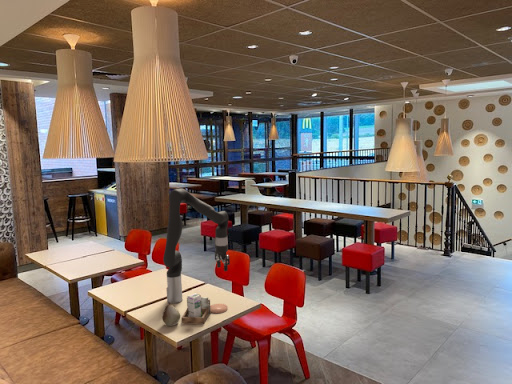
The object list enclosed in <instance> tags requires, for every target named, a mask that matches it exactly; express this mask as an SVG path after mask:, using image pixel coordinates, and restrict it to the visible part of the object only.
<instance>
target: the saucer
mask: <svg viewBox="0 0 512 384" xmlns="http://www.w3.org/2000/svg"><path fill="white" fill-rule="evenodd" d="M228 308H229V307H228V305H227V304H225V303H214V304H210V309H211V314H222V313H225V312H226V311H228Z"/></svg>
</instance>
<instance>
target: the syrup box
mask: <svg viewBox="0 0 512 384" xmlns="http://www.w3.org/2000/svg"><path fill="white" fill-rule="evenodd" d="M201 295H202V294H200V293H196V292H194V293H191V294H189V295H187V296H186V298H187V297H188V311H189V315H188V317H203V315H202V304H201V297H202V296H201Z"/></svg>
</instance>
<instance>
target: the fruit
mask: <svg viewBox="0 0 512 384" xmlns="http://www.w3.org/2000/svg"><path fill="white" fill-rule="evenodd" d="M161 317H162V318H161V319H162V322H163V323H164V325H165V326H168V327H171V326H172V327H173V326H175V325H177V324H178V323H179V322H180V319H181V313H180V311H179V310H177V309H176V308H175V306H174V305H172V304H171V303H170V302H168V304H167V305H166V306H165V308H164V310H163V312H162V316H161Z"/></svg>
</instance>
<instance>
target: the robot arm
mask: <svg viewBox="0 0 512 384" xmlns="http://www.w3.org/2000/svg"><path fill="white" fill-rule="evenodd" d="M182 203H185V204H187V205H190V206H191V207H192V208H193V209H194V210H195V211H197V213H198V214H201V215H202V216H205V217H206V218H208V219H209V220H210V221H211V222H212V223H215V224H216V225H217V226H216V228H215V242H214V243H215V250H214V260H215V261H216V267H217V268H221V266H222V265H221V263H223V271H224V272H228V270H229V269H228V268H229V267H228V266H230V265H231V261H230V258H231V257H230V255H229V254H227V252H229V243H228V242H229V241H228V240H229V239H228V226H229V219H230V218H229V214H228V213H227V211H225V210H221V211H216V210H215V207H213V206H211V205H209V204H207V203H206V202H205V201H202V200H200V199H199V198H197V197H195V196H194V195H193V194H191V193H190V192H189V191H188V190H186V189H184V188H176V189H172V190H171V191H170V193H169V196H168V218H167V219H168V221H167V228H166V229H167V230H166V239H165V240H166V242H165V248H164V253H163V257H162V258H163V259H162V260H163V264H164V266H165V267H167V268H168V270H167V271H166V284H167V287H166V299H167V303H170V304H177V303H180V302H182V301H183V284H182V270H183V265H182V264H183V258H182V254H181V253H180V251H179V250H176V249H177V246H178V243H179V241H180V238H181V236H182V232H183V220H182V217H181V214H180V209H181V208H180V207H181V204H182Z"/></svg>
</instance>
